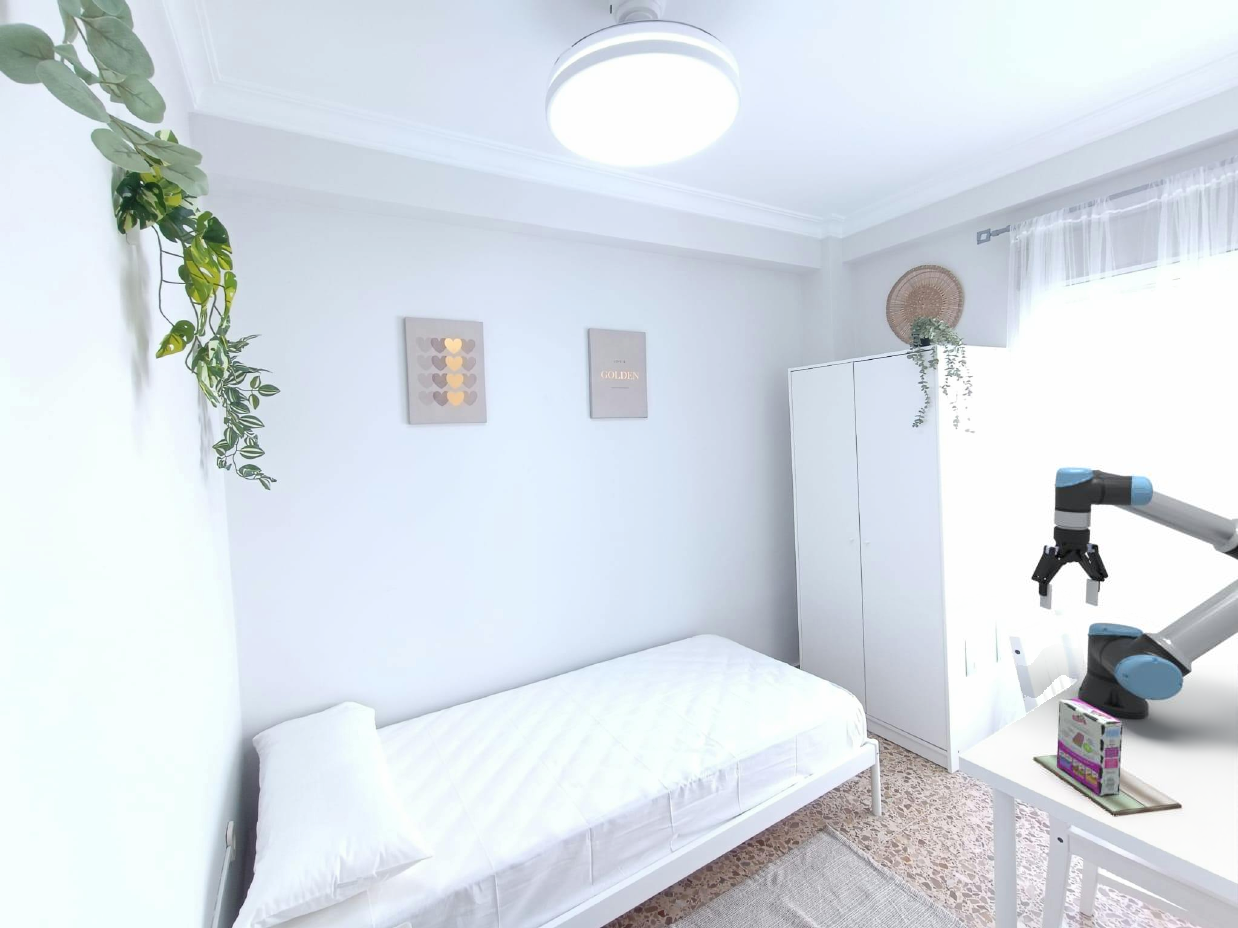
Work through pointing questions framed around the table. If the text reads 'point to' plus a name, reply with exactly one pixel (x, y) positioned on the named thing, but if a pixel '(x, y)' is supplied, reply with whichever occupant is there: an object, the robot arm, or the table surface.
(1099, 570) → the robot arm
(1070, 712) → the candy bar box
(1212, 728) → the table surface
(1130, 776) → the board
